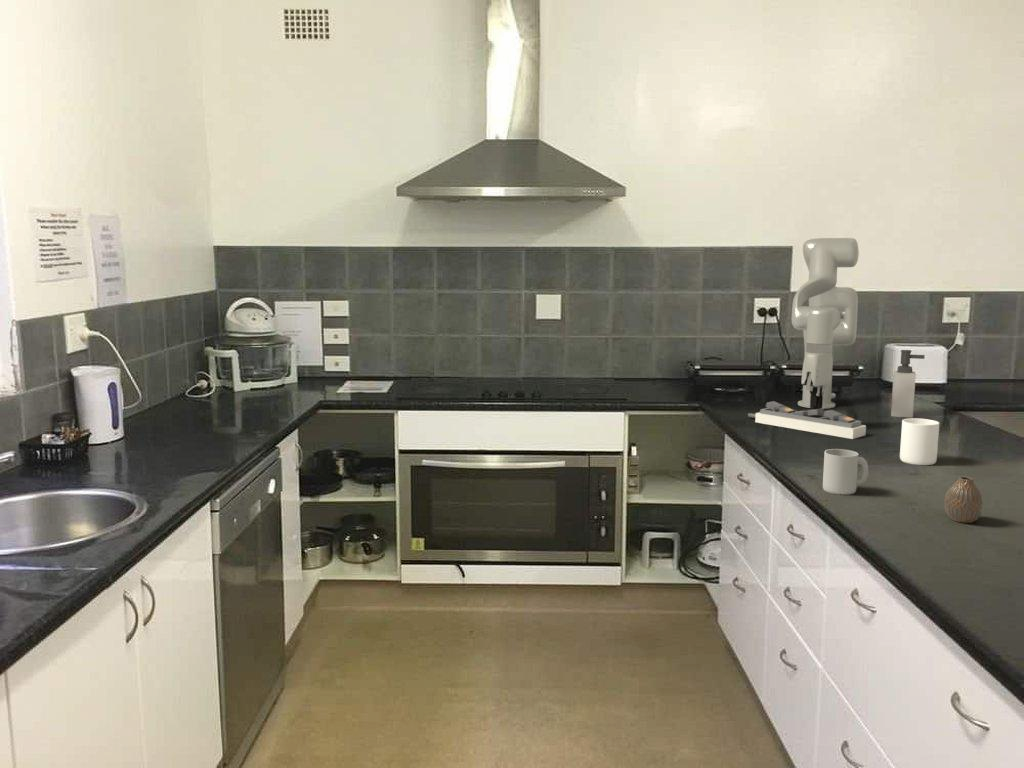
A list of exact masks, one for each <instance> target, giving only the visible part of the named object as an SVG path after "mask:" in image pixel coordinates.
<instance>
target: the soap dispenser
mask: <svg viewBox="0 0 1024 768" xmlns="http://www.w3.org/2000/svg"><path fill="white" fill-rule="evenodd" d="M900 353H901V354H900V365H898V366H897V370H893V378H892V391H891V408H890V409H891V410H890V417H898V418H899V417H900V418H914V403H915V392H916V391H915V389H916V377H917V374H916V371H913V366H909V365H910V364H911V359H917V360H925V357H926V356H925V354H911V353H912V350H911V349H900Z"/></svg>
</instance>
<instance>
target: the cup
mask: <svg viewBox="0 0 1024 768" xmlns="http://www.w3.org/2000/svg"><path fill="white" fill-rule="evenodd" d="M823 456H824V457H823V474H822V475H823V477H822V489H823V491H825V492H827V493H829V494H834V495H840V494H841V496H843V495H844V496H848V495H853V494H855V493H856V492H857V486H860V485H863V483H865V482H866V480H867V479H868V476H869V464H868V462H867V460H866V459H865V458H864V457H862V456H859V453H858V452H857V451H854V450H851V449H842V448H831V449H825V450H824V454H823ZM859 465H860V475H859V476H858V468H859Z"/></svg>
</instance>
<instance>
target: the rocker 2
mask: <svg viewBox="0 0 1024 768" xmlns="http://www.w3.org/2000/svg"><path fill="white" fill-rule="evenodd" d="M824 412H825V409H824V408H823V409H815V408H809V409H807V410H800V411H799V412H795V413H794V414H795V415H801V416H810V415H823V414H824Z"/></svg>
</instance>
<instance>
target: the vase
mask: <svg viewBox="0 0 1024 768" xmlns="http://www.w3.org/2000/svg"><path fill="white" fill-rule="evenodd" d="M984 504H985V502H984V497H983V494H982V492H981V490H980V489H979V488H978V486H977V485H976V484H975V481H974V479H973V478H972V477H970V476H960V477H958V478H957V480H956V481H955V482H954V483H953V484H952V485H951V486H950V487H949V488H948V490H947V491H946V494H945V497H944V510H945V512H946V514H947V515H948V517H949V518H950V519H951V520H952V521H955V522H957V523H961V524H962V523H963V524H970V523H974V522H975V521H977V520H978V519H979V518H980V517H981V516H982V514H983V511H984Z"/></svg>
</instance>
